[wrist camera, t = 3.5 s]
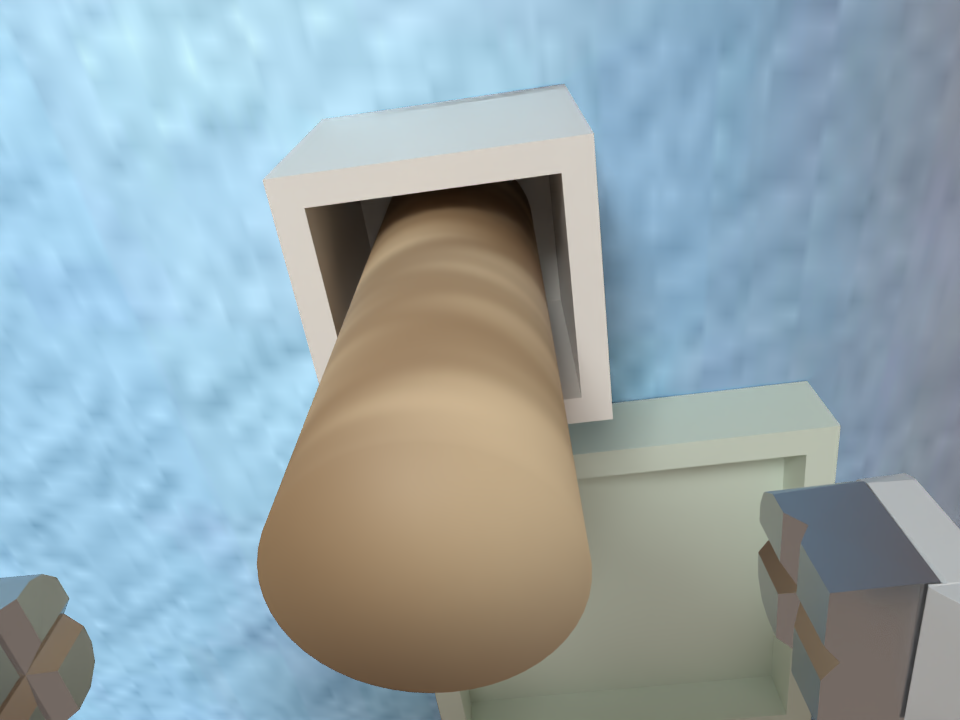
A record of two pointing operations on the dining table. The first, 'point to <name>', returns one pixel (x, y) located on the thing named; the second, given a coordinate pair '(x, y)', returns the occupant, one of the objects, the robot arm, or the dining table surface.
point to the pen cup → (441, 165)
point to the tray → (676, 563)
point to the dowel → (435, 463)
